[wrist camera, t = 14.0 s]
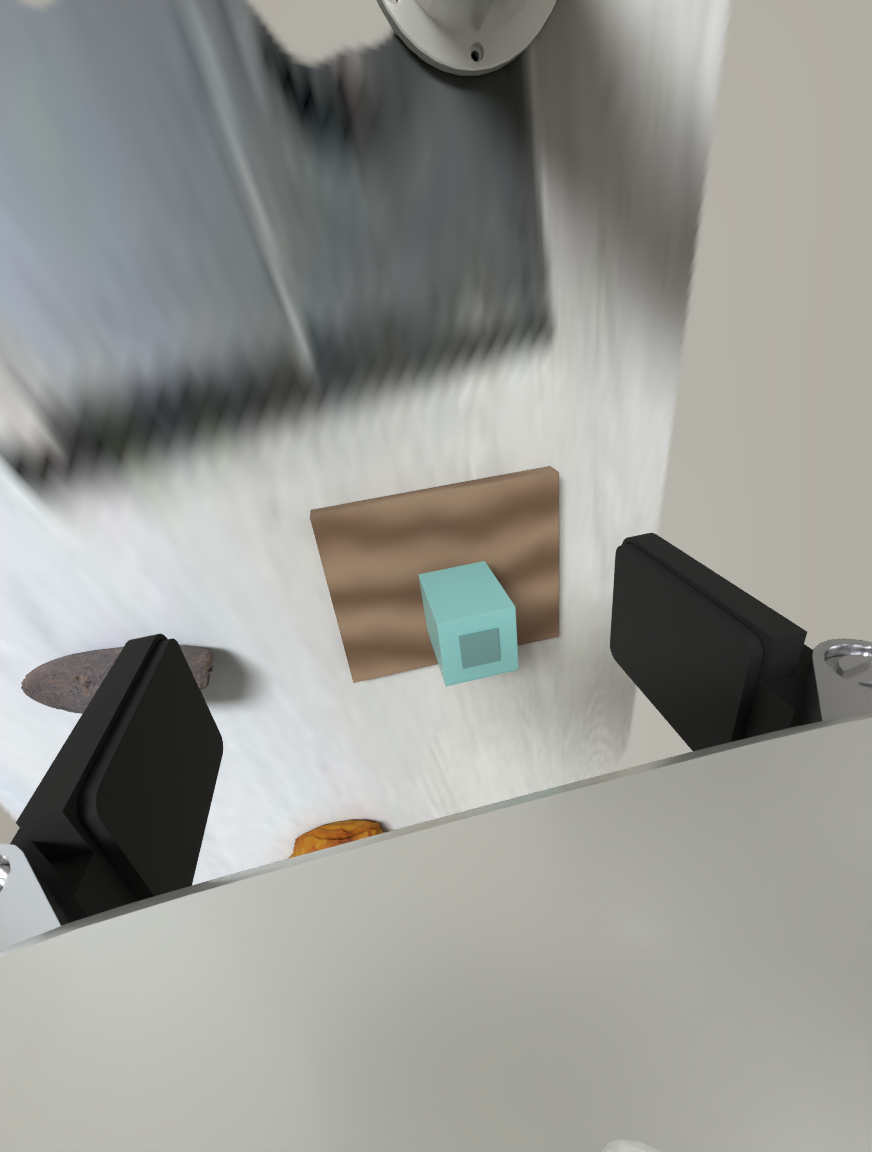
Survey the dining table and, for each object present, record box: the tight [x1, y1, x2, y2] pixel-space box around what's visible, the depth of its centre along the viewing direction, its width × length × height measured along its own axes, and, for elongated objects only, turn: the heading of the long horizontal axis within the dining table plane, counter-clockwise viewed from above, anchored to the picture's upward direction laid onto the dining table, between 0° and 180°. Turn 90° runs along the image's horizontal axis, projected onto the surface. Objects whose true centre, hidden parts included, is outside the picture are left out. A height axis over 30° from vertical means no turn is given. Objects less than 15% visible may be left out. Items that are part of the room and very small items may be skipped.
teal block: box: [418, 561, 519, 686], centre depth 41 cm, size 6×6×8 cm
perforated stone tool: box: [21, 646, 213, 714], centre depth 43 cm, size 15×5×7 cm, turn 81°
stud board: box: [310, 466, 559, 683], centre depth 44 cm, size 18×22×11 cm
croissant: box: [288, 820, 384, 859], centre depth 62 cm, size 14×16×8 cm
